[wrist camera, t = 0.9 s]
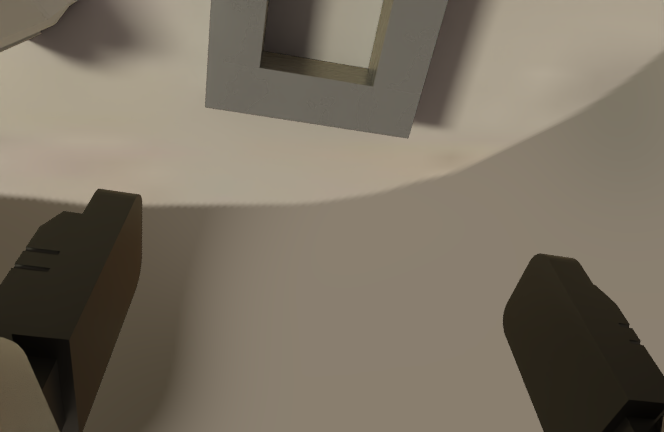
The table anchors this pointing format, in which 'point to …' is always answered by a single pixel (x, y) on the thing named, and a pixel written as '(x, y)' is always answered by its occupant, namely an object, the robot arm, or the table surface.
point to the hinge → (28, 19)
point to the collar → (323, 70)
